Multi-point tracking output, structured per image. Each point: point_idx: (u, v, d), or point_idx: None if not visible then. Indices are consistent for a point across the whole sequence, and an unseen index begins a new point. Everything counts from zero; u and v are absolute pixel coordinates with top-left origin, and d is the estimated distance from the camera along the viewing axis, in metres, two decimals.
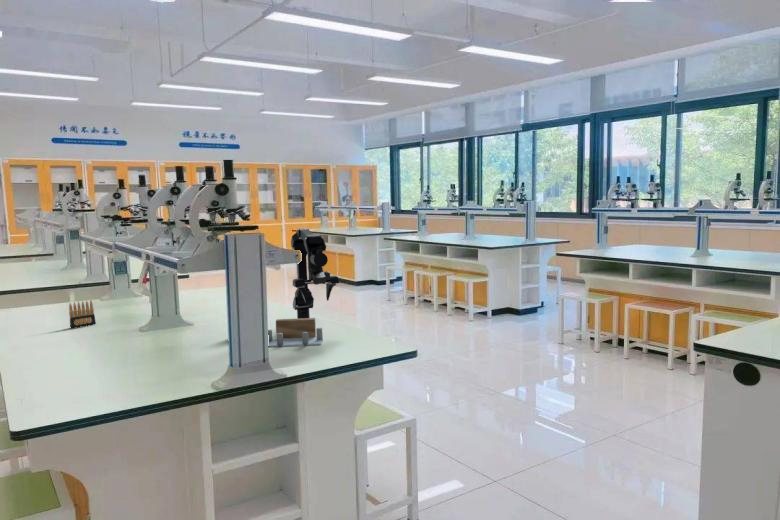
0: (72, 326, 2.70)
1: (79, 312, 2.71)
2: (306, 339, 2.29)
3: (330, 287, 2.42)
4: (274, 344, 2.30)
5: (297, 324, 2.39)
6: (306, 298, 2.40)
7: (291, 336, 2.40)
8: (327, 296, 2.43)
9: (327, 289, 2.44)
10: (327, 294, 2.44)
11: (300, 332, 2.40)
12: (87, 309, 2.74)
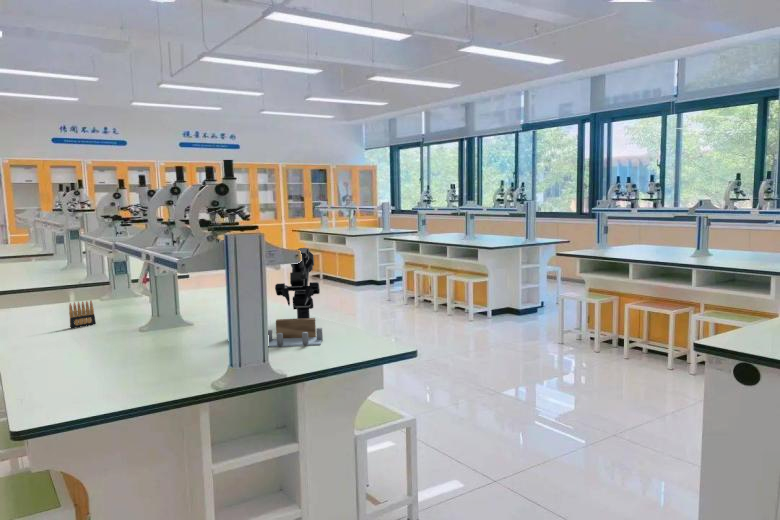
0: (72, 326, 2.70)
1: (79, 312, 2.71)
2: (306, 339, 2.29)
3: (307, 291, 2.48)
4: (274, 344, 2.30)
5: (297, 324, 2.39)
6: (288, 300, 2.47)
7: (291, 336, 2.40)
8: (304, 300, 2.47)
9: None
10: (304, 299, 2.48)
11: (300, 332, 2.40)
12: (87, 309, 2.74)
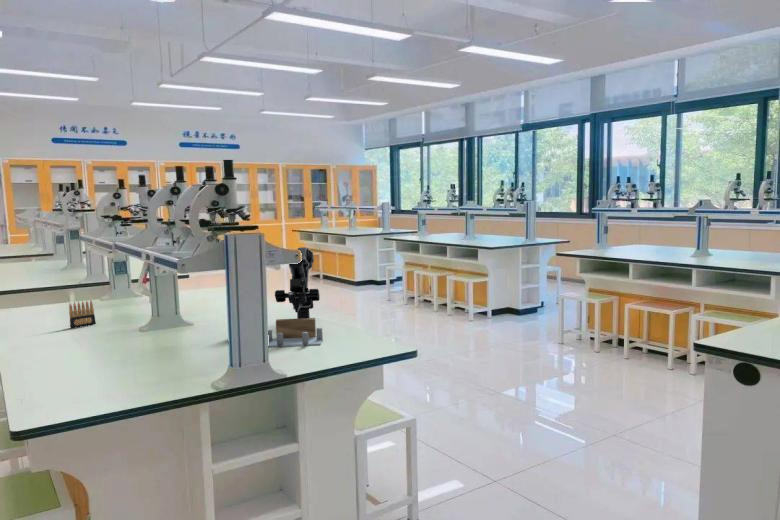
0: (72, 326, 2.70)
1: (79, 312, 2.71)
2: (306, 339, 2.29)
3: (299, 298, 2.47)
4: (274, 344, 2.30)
5: (297, 324, 2.39)
6: (295, 307, 2.45)
7: (291, 336, 2.40)
8: (296, 307, 2.45)
9: None
10: (297, 306, 2.46)
11: (300, 332, 2.40)
12: (87, 309, 2.74)
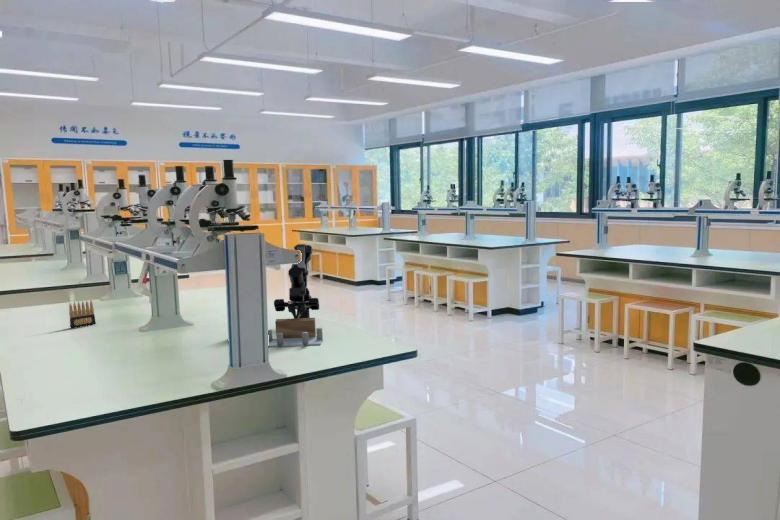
0: (72, 326, 2.70)
1: (79, 312, 2.71)
2: (306, 339, 2.29)
3: (298, 307, 2.43)
4: (274, 344, 2.30)
5: (297, 324, 2.38)
6: (295, 316, 2.42)
7: (291, 336, 2.40)
8: (296, 316, 2.42)
9: None
10: None
11: (300, 332, 2.39)
12: (87, 309, 2.74)
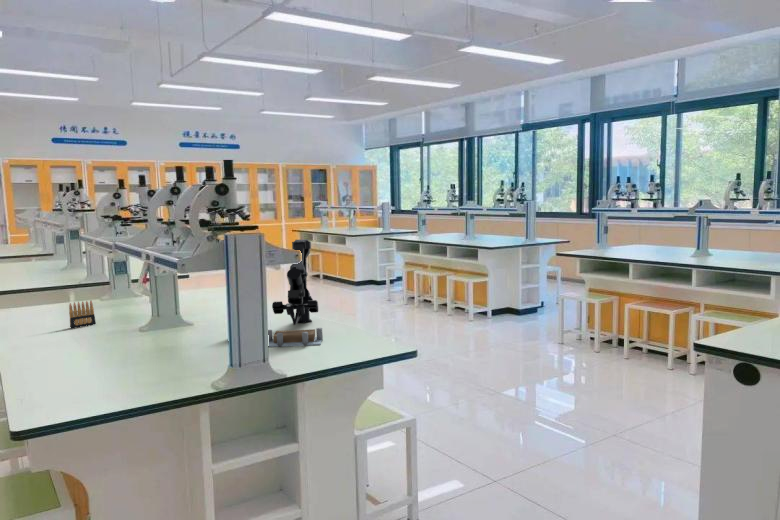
0: (72, 326, 2.70)
1: (79, 312, 2.71)
2: (306, 339, 2.29)
3: (297, 309, 2.39)
4: (274, 344, 2.30)
5: None
6: (294, 319, 2.38)
7: None
8: (294, 319, 2.38)
9: None
10: (295, 318, 2.38)
11: None
12: (87, 309, 2.74)
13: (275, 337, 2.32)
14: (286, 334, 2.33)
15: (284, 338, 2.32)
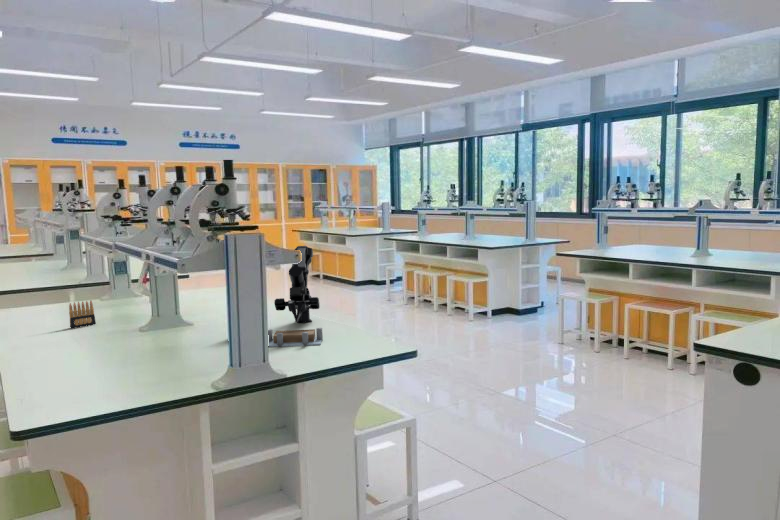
0: (72, 326, 2.70)
1: (79, 312, 2.71)
2: (306, 339, 2.29)
3: (299, 306, 2.45)
4: (274, 344, 2.30)
5: None
6: (295, 315, 2.44)
7: None
8: (296, 316, 2.44)
9: None
10: None
11: None
12: (87, 309, 2.74)
13: (275, 337, 2.32)
14: (286, 334, 2.33)
15: (284, 338, 2.32)
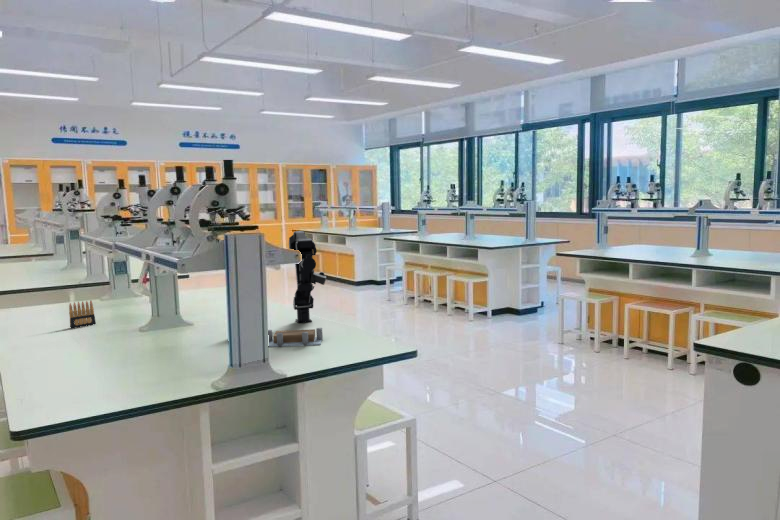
0: (72, 326, 2.70)
1: (79, 312, 2.71)
2: (306, 339, 2.29)
3: None
4: (274, 344, 2.30)
5: None
6: (309, 299, 2.51)
7: None
8: None
9: None
10: None
11: None
12: (87, 309, 2.74)
13: (275, 337, 2.32)
14: (286, 334, 2.33)
15: (284, 338, 2.32)
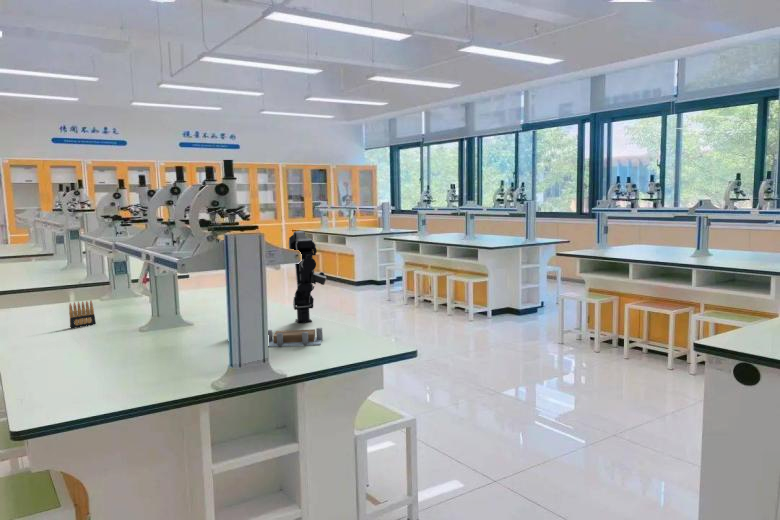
0: (72, 326, 2.70)
1: (79, 312, 2.71)
2: (306, 339, 2.29)
3: None
4: (274, 344, 2.30)
5: None
6: (309, 299, 2.51)
7: None
8: None
9: None
10: None
11: None
12: (87, 309, 2.74)
13: (275, 337, 2.32)
14: (286, 334, 2.33)
15: (284, 338, 2.32)
